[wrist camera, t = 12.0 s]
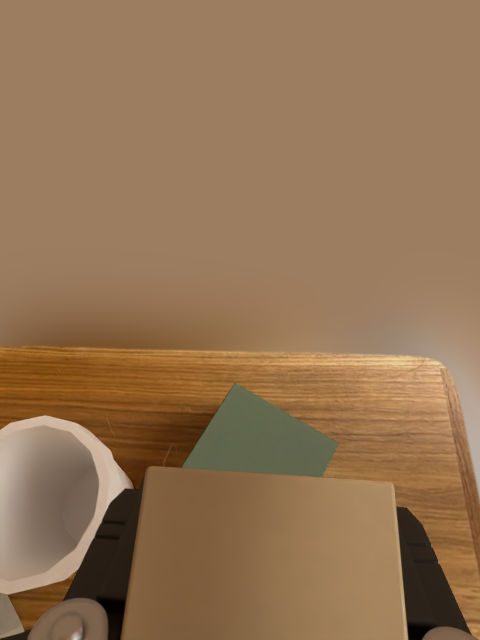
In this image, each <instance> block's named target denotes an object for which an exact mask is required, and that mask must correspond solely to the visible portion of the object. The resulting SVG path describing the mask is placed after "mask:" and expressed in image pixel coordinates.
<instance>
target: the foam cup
mask: <svg viewBox="0 0 480 640" xmlns="http://www.w3.org/2000/svg"><path fill="white" fill-rule="evenodd" d="M125 488H127V489H134V487H133V484H132V482H131V480H130V479H129V478H128V476H127V475H126V474H125V473H124V472H123V470H122V469H121V468H120V467H119V465H118V464H117V463H116V462H115V461H114V459H113V456H112V453H111V451H110V450H109V449H108V448H107V447H106V446H105V445H104V444H103V443H102V442H101V441H100V440H99V439H98V438H97V437H95V436H94V435H93V434H92V433H91V432H90V431H89V430H87V429H86V428H84V427H82V426H80V425H79V424H77V423H74V422H70V421H66V420H62V419H58V418H54V417H50V416H46V415H45V416H40V417H36V418H31V419H26V420H22V421H17V422H12V423H10V424H8V425H7V426H6V427H4V428H3V429H1V430H0V593H3V594H7V595H8V594H12V593H16V592H21V591H25V590H29V589H33V588H37V587H41V586H45V585H49V584H52V583H56V582H59V581H63V580H66V579H67V578H68V577H69V576H70V575H72V574H73V573H74V572H75V571H77V570H78V569H79V567H80V565H81V563H82V561H83V559H84V556H85V554H86V552H87V550H88V548H89V546H90V544H91V542H92V540H93V538H95V533H96V531H97V529H98V527H99V525H100V524H101V523H102V519H103V517H104V515H105V512H106V510H107V508H108V506H109V504H110V502H111V501H112V500H114V499H115V498H116V497H117V496H118V495H119V494H120V493H121V492H122V491H123V490H124V489H125Z"/></svg>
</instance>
